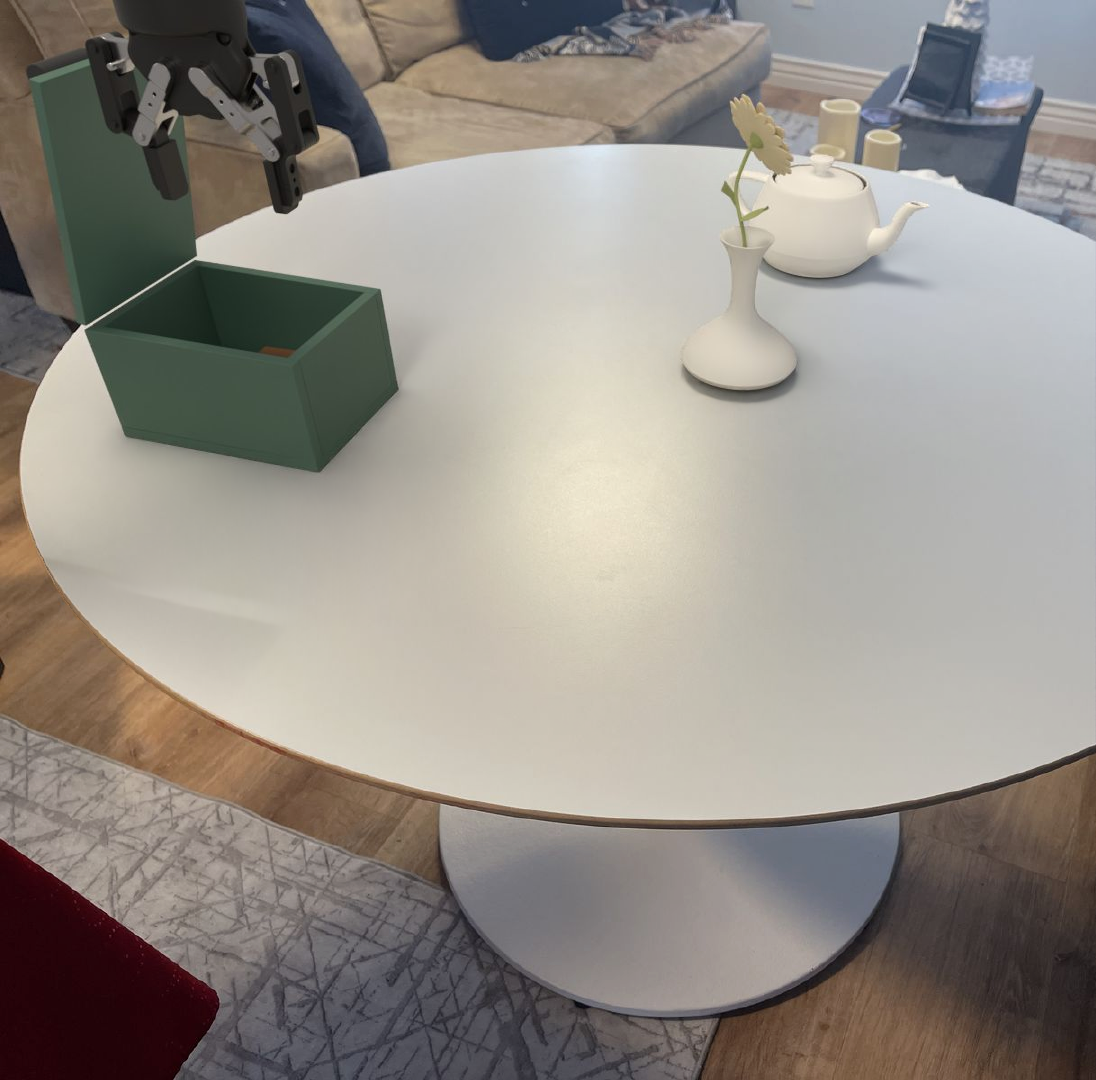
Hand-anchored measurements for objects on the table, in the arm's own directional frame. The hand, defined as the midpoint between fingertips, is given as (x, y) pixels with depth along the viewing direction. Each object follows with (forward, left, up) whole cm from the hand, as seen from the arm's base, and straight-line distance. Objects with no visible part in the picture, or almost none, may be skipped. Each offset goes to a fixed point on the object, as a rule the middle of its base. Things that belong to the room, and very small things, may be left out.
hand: (231, 203), depth 71 cm
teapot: (+59, -27, -21) cm, 68 cm away
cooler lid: (+2, +13, -2) cm, 13 cm away
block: (+4, +4, -20) cm, 21 cm away
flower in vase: (+31, -28, -21) cm, 47 cm away
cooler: (+4, +6, -21) cm, 22 cm away
